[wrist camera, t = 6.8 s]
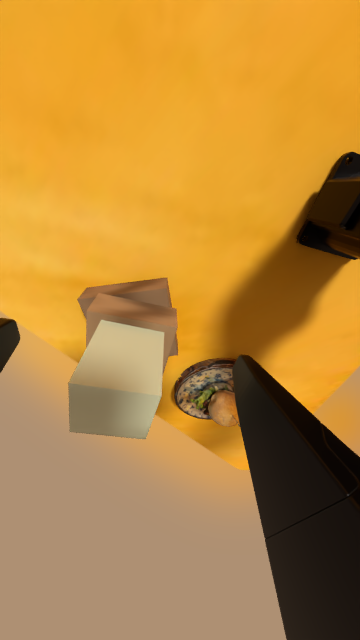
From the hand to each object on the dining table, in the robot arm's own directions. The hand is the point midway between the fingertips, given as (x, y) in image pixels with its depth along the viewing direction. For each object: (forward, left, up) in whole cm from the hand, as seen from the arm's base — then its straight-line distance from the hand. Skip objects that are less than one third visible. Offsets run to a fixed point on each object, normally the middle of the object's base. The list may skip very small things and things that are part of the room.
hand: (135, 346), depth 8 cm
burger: (-12, +16, -13) cm, 24 cm away
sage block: (+1, +7, -7) cm, 10 cm away
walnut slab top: (+1, +7, -10) cm, 12 cm away
